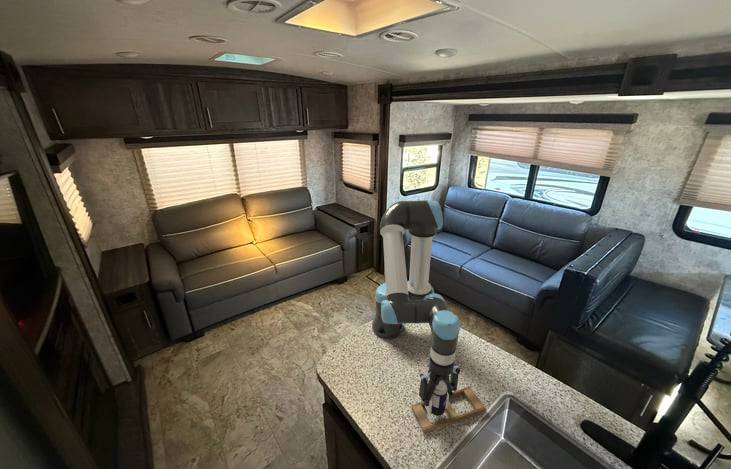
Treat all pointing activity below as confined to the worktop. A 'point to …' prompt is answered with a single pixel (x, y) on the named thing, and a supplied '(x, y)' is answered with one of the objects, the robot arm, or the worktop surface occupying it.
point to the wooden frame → (449, 411)
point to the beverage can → (439, 399)
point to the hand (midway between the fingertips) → (436, 407)
